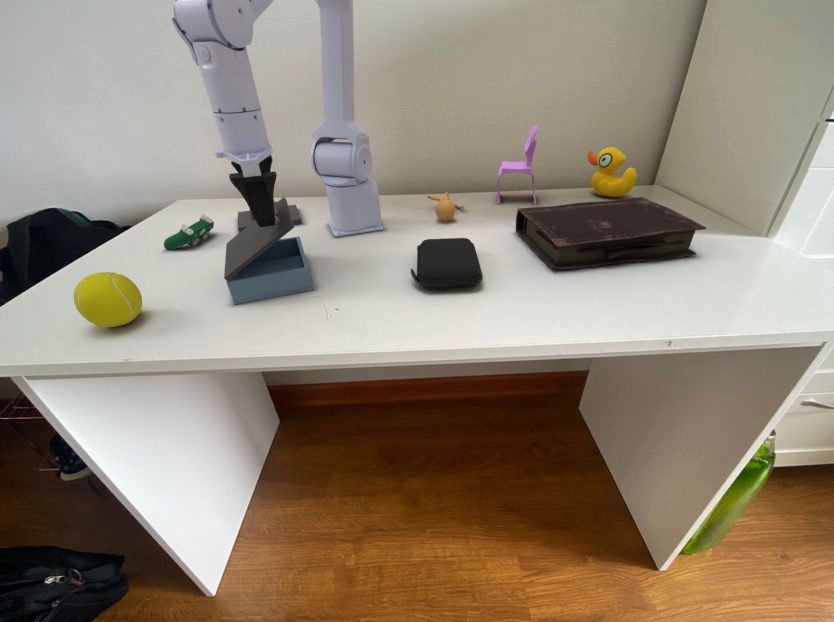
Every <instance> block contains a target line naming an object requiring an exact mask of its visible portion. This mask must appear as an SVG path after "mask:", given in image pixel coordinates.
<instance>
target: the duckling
mask: <svg viewBox="0 0 834 622" xmlns="http://www.w3.org/2000/svg"><path fill="white" fill-rule="evenodd" d="M597 154H598V155H597ZM597 154H595V153H594V152H593V150H589V151H588V153H587V161H588V162H589V164H590V165H592V166H593V167H594V166H595V167H597V169H598V170H597V171H596V172H595V173H594V174H593V175H592V177H591V187H592V189H593V190H594V191H595V193H596V194H597V195H599V196H601V197H607V198H617V197H623V196H625V195H627V194H629V193H630V192H631V191H632V190H633V188H634V187H635V184H636V181H637V178H638V174H637V171H636V169H635V168H634V167H628V168H626V170H625V171H624V173H623V174H622V176H617V175H616V174H615V172H617V171H618V170H619V169H621V168H620V167H622V166H623V165H624V164H625V162H626V160H627V157H626V155H625V154H624V153H622V151H621V150H620V149H619V148H617V147H614V146H610V147H606V148H603V149H602V150H600V151H599V153H597Z"/></svg>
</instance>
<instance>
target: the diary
mask: <svg viewBox="0 0 834 622" xmlns="http://www.w3.org/2000/svg"><path fill="white" fill-rule="evenodd" d="M706 229H707V227H706V226H705V225H702V224H701V223H699V222H697V221H695V220H693V219H691V218H690V217H688V216H686V215H684V214H681V213H680V212H677V211H676V210H674V209H672V208H669V207H668V206H665V205H662V204H660V203H658V202H654V201H653V200H651V199H650V200H649V199H648V198H647V197H644V196H639V197H631V198H623V199H614V200H603V201H602V200H601V201H588V202H587V201H586V202H575V203H567V204H559V205H550V206H531V207H518V208H517V211H516V216H515V233H516V234H517V235H518V236H519V237H520V238H521V239H522V240H523V241H524V242H525V243H526V244H527V245H528V246H529V247H530V249H532V251H533V252H534V253H535V254H536V255H537V256H538V257H539V258H540V259H541V260H542V261H543V262H545V263H546V264H547V265H548V266H549V267H550V268H553V269H557V270H567V269H568V270H569V269H582V268H593V267H598V266H599V267H600V266H605V265H613V264H618V263H624V262H625V263H626V262H660V261H666V260H673V259H678V258H684V257H685V258H686V257H691V256H697V255H698V254H697V252H695V251H694V250H692V249H691V248H690V247H691V244H692V241H693V239H694V236H695V234H696V231H703V230H704V231H705V230H706Z"/></svg>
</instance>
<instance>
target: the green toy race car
mask: <svg viewBox="0 0 834 622" xmlns="http://www.w3.org/2000/svg"><path fill="white" fill-rule="evenodd" d="M214 225H215V222H214V221H213V219H212V218H210V216H208V215H206V214H204V213H201V216H200V218H199V220H198V221H196V222H194V223H192V224H191V225H189V226H188V225H186V224H184V223H183V224H181V228H180V229H179V231H178V232H176V233H173V235H170V236H168V237H167V238H166V239H164V241H163V248H164V249H166V250H176V249H179V248H182V247H185V246H187V245H189V246H193V247H194V246H196V245H197V244H198V240H197V239H200V240H206V239H207V238H208V233H209V232H211V231H212V230H213V229H214Z"/></svg>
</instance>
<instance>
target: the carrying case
mask: <svg viewBox="0 0 834 622" xmlns="http://www.w3.org/2000/svg"><path fill="white" fill-rule="evenodd" d="M410 275H411V277H412V279H413V280H414V282H416V283H417V284H420V285H421V286H422V287H423V288H424V289H426V290H431V291H432V290H433V291H436V290H461V289H473V288H476V287H478V285H480V284H481V282H482V281H483V277H484V276H483V271H482V268H481V264H480V262H479V257H478V253H477V249H476V247H475V244H474V242H472V241H471V239H469V238H467V237H451V238H449V237H446V238H427V239H424V240H422V242H421V243H420V244H418V245H417V247H416V272H415V270H414V268H411V269H410Z"/></svg>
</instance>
